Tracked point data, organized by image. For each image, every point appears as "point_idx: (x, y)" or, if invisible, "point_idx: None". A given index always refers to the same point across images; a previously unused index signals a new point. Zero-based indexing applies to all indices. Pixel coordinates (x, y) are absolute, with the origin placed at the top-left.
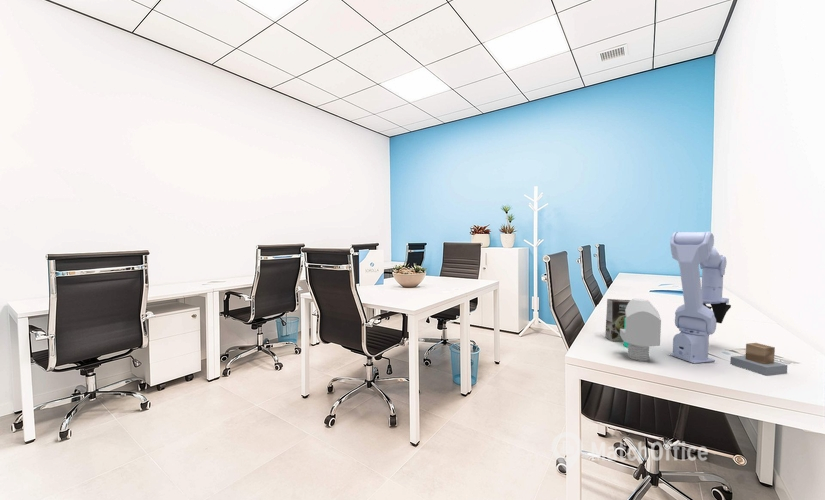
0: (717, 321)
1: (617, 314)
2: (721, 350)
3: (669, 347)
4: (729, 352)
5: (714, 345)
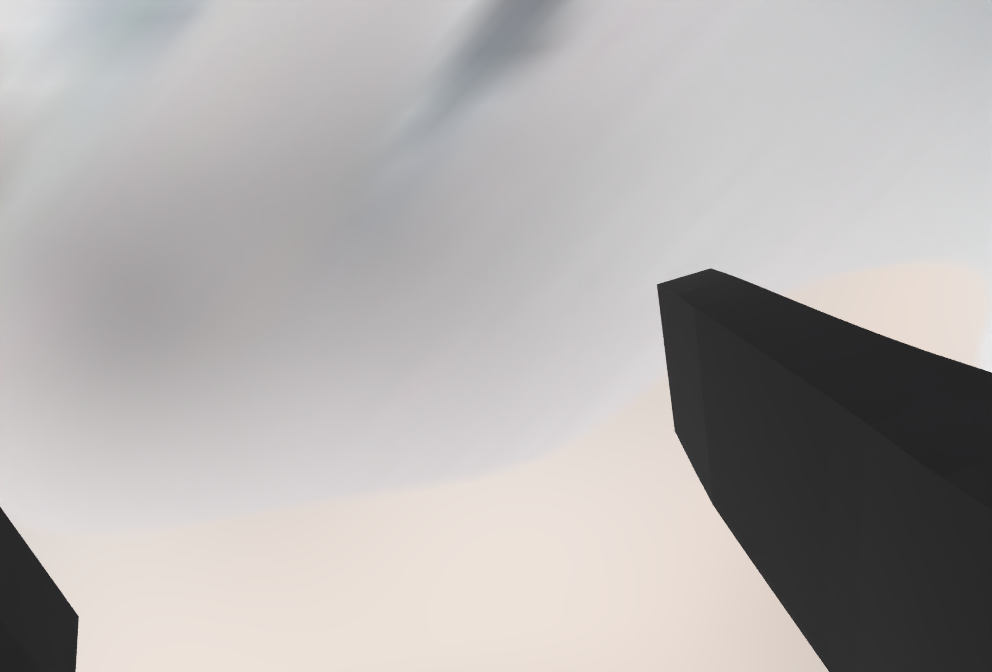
0: (21, 584)
1: None
2: (111, 125)
3: (884, 196)
4: (32, 12)
5: (26, 389)
